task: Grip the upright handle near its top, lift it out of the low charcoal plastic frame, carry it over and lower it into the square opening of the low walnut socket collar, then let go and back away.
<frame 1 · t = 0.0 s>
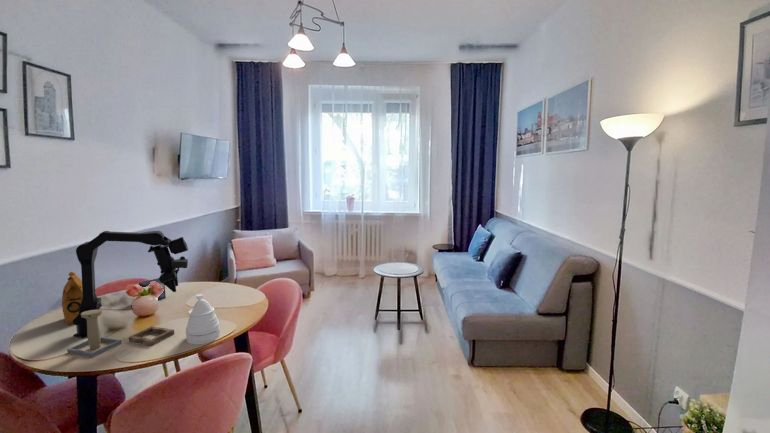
hand: (176, 288, 168), 15 cm above the table, tool pointing down, fingers open, 9 cm apart
handle: (95, 348, 144), resting in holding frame
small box: (153, 300, 197), on the table
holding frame: (95, 347, 144), on the table
socket stand: (152, 337, 153), on the table
honey pot: (203, 337, 155), on the table
coffee package: (77, 319, 171), on the table
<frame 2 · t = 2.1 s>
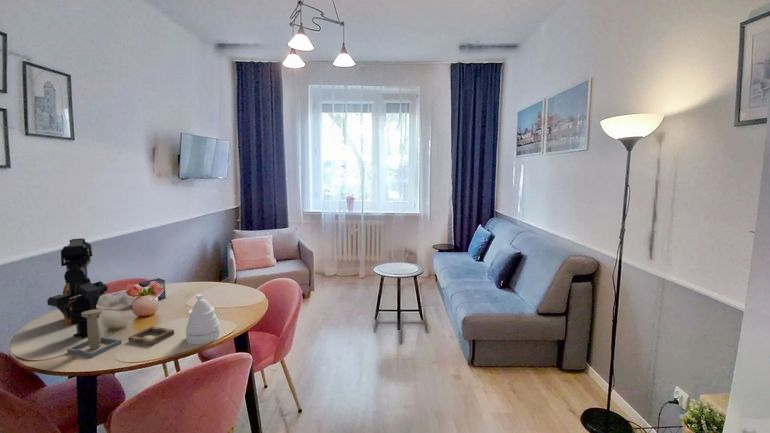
hand: (81, 314, 144), 13 cm above the table, tool pointing down, fingers open, 9 cm apart
nothing on the table moved.
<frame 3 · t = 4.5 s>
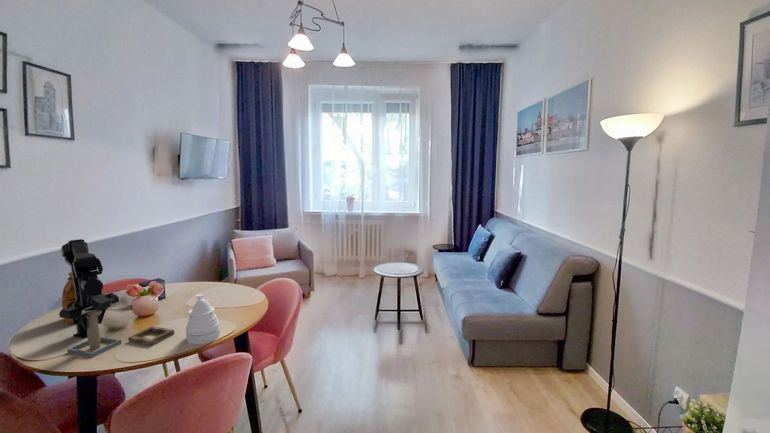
hand: (93, 326, 143), 9 cm above the table, tool pointing down, fingers closed on handle, 5 cm apart
handle: (95, 348, 144), resting in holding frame, touching gripper
everything else where it was.
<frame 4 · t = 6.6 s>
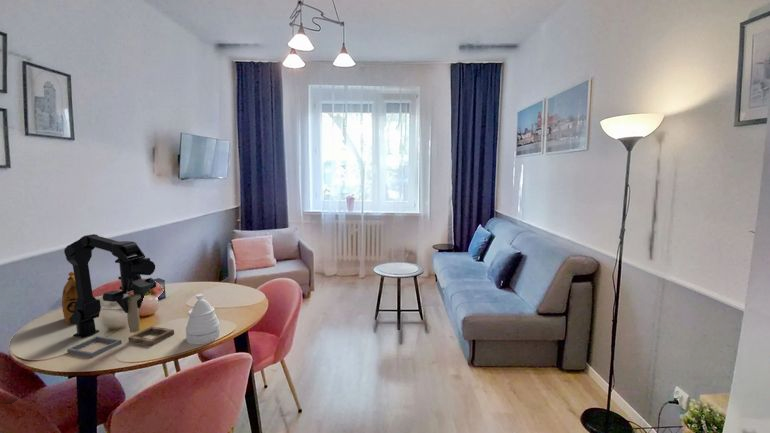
hand: (132, 310, 148), 13 cm above the table, tool pointing down, fingers closed on handle, 5 cm apart
handle: (134, 331, 150), point 4 cm above the table, touching gripper
everything else where it was.
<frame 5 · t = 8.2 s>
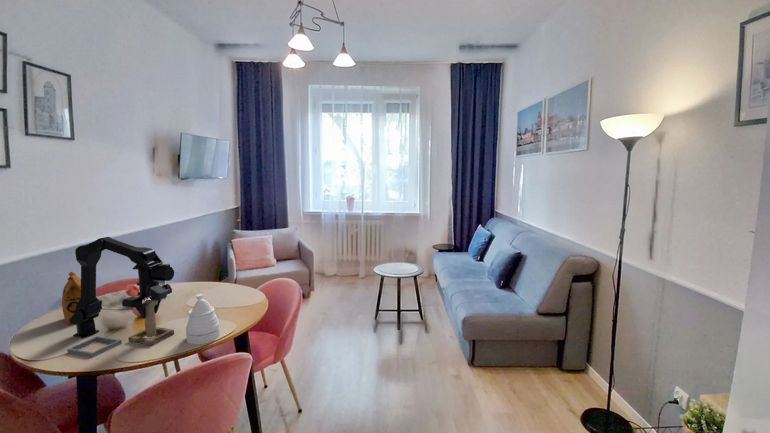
hand: (149, 315, 152), 10 cm above the table, tool pointing down, fingers closed on handle, 5 cm apart
handle: (151, 336, 153), point 1 cm above the table, touching gripper
everything else where it was.
when the fingers open (10 cm above the table, at t = 8.9 s): handle stays where it is, resting in socket stand.
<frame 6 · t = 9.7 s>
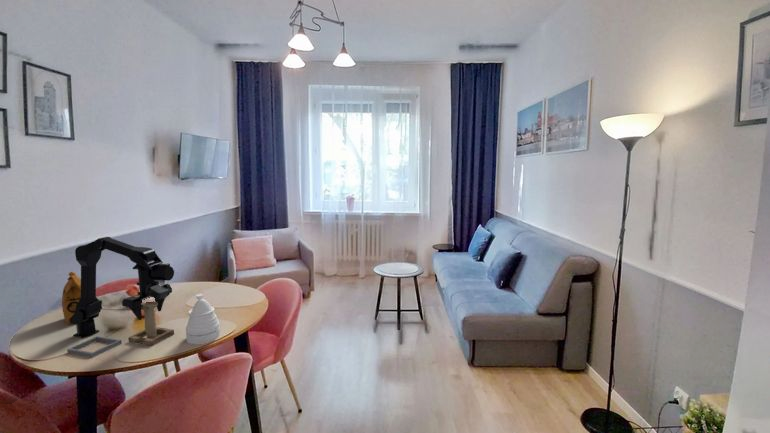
hand: (150, 315, 152), 10 cm above the table, tool pointing down, fingers open, 9 cm apart
handle: (151, 338, 153), resting in socket stand
everything else where it was.
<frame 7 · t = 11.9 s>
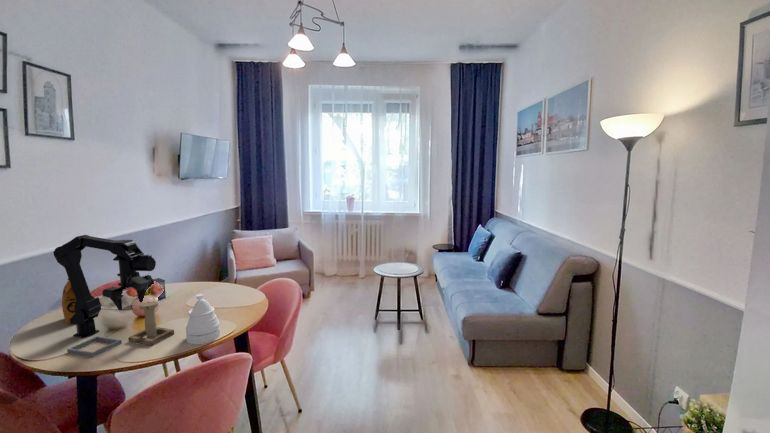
hand: (131, 306, 154), 13 cm above the table, tool pointing down, fingers open, 9 cm apart
nothing on the table moved.
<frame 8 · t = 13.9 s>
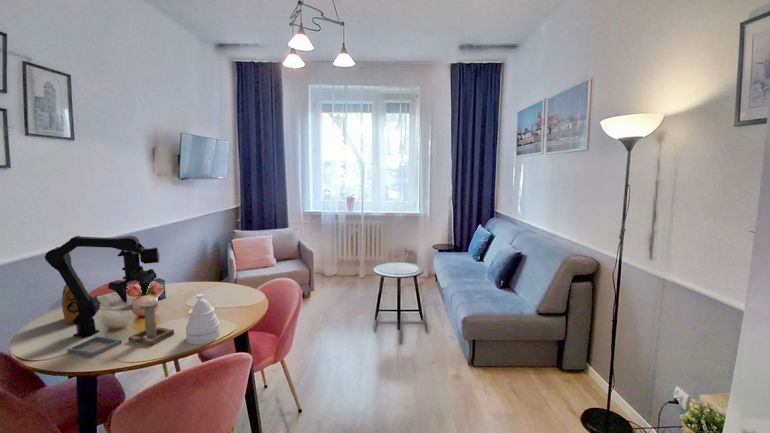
hand: (135, 298, 162), 13 cm above the table, tool pointing down, fingers open, 9 cm apart
nothing on the table moved.
at the end: handle 0.1 cm off-centre on the socket stand, point 0.0 cm above the socket stand's base; handle tilted 0°; the gripper is holding nothing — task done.
